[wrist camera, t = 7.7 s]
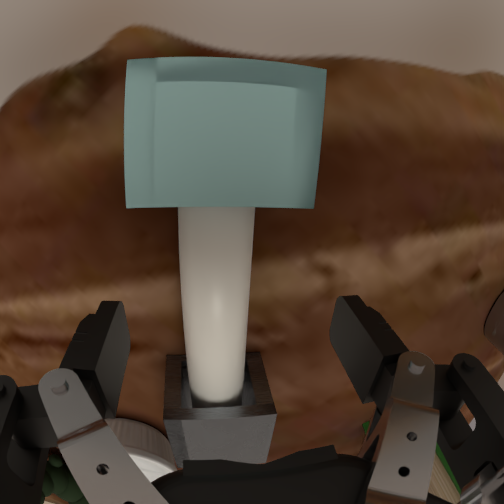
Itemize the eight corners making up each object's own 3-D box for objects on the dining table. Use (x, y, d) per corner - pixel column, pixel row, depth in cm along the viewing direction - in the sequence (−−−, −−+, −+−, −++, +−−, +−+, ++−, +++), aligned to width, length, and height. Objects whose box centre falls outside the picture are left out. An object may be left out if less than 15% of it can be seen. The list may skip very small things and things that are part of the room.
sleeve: (259, 351, 24) (276, 413, 19) (253, 408, 28) (265, 462, 22) (166, 355, 23) (163, 419, 17) (176, 411, 26) (177, 467, 21)
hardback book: (362, 424, 34) (431, 570, 12) (411, 397, 33) (491, 532, 12) (373, 460, 41) (419, 563, 20) (409, 441, 41) (462, 539, 20)
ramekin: (150, 404, 26) (147, 449, 21) (192, 453, 31) (195, 490, 26) (64, 413, 25) (55, 451, 21) (115, 460, 30) (112, 493, 26)
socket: (284, 83, 16) (326, 69, 10) (277, 178, 19) (313, 208, 13) (152, 79, 15) (127, 59, 9) (150, 177, 17) (126, 208, 12)
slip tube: (253, 131, 16) (269, 135, 13) (238, 399, 25) (244, 436, 22) (180, 129, 16) (173, 132, 12) (192, 401, 25) (194, 438, 21)
